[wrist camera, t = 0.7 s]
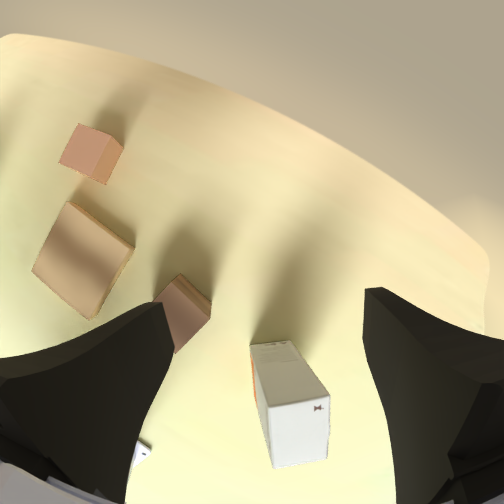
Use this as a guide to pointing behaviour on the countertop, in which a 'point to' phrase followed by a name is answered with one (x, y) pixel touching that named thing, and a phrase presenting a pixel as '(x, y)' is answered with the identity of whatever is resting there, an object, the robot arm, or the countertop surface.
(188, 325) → the walnut block
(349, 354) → the countertop surface
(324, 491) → the countertop surface
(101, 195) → the countertop surface
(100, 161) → the terracotta cube
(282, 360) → the skincare box
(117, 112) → the countertop surface
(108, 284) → the oak slab
